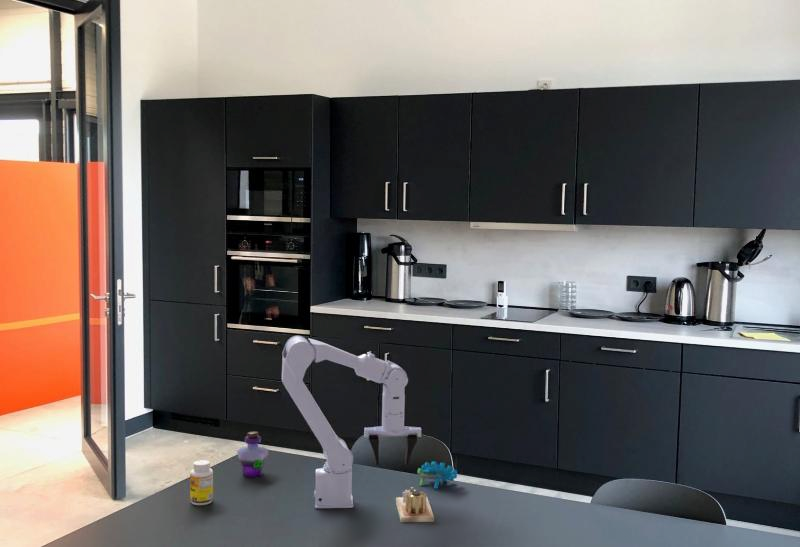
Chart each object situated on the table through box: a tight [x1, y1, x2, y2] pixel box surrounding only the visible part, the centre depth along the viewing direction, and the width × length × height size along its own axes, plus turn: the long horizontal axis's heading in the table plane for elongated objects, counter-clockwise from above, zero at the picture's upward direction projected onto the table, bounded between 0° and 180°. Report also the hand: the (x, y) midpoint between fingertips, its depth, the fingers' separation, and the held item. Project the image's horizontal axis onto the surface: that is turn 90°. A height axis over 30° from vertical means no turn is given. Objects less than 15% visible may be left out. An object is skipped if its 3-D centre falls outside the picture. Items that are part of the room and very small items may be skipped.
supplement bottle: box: [189, 459, 214, 506], centre depth 198 cm, size 6×6×10 cm
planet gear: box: [406, 487, 428, 514], centre depth 192 cm, size 5×5×5 cm
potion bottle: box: [236, 431, 269, 479], centre depth 219 cm, size 9×9×12 cm
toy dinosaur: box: [416, 460, 458, 490], centre depth 213 cm, size 11×6×10 cm
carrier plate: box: [395, 496, 435, 523], centre depth 195 cm, size 8×13×1 cm, turn 6°
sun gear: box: [402, 486, 417, 503], centre depth 199 cm, size 5×5×3 cm
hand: (392, 463), depth 203 cm, fingers open, 7 cm apart
